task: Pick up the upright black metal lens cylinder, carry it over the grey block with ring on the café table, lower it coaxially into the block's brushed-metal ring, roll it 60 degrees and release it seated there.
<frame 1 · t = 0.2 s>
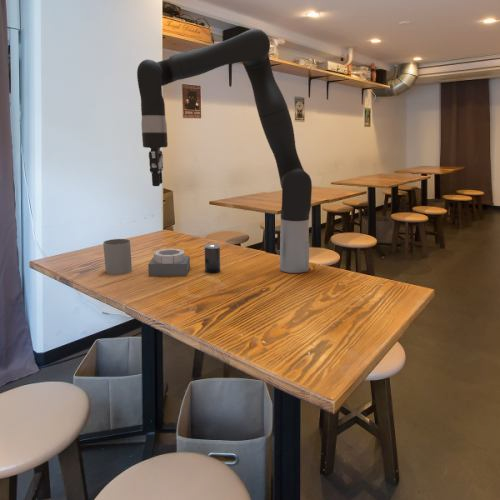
hand: (157, 184, 136), 28 cm above the table, fingers open, 8 cm apart
cup: (119, 271, 143), on the table
lens: (212, 271, 143), on the table
grey block with ring: (170, 271, 142), on the table
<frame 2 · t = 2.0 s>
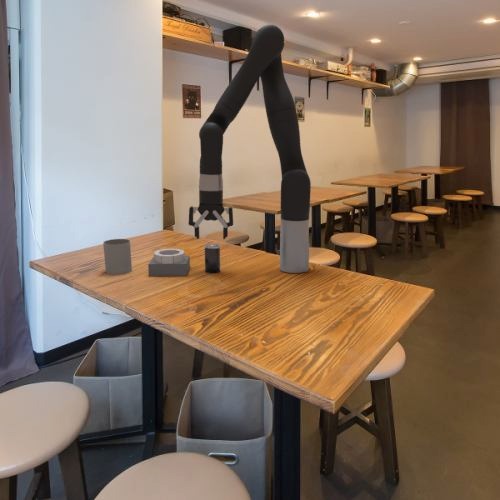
hand: (211, 238, 140), 11 cm above the table, fingers open, 8 cm apart
nothing on the table moved.
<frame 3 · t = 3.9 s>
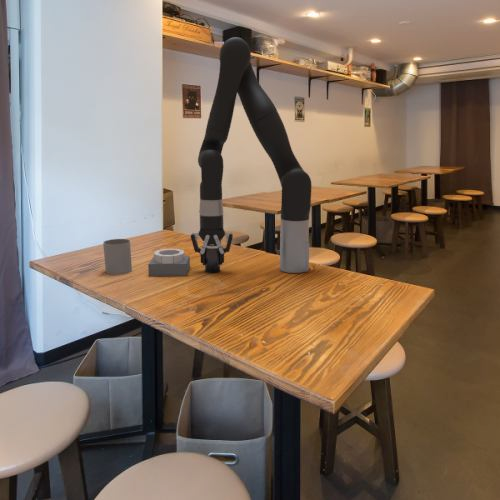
hand: (212, 264, 142), 2 cm above the table, fingers closed on lens, 5 cm apart
lens: (212, 271, 143), on the table, touching gripper
everything else where it was.
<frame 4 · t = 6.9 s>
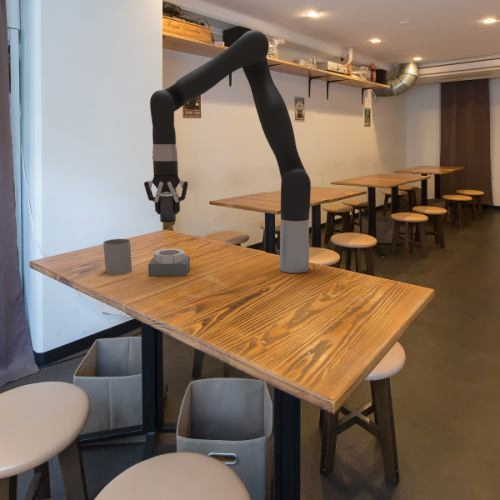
hand: (167, 213, 138), 19 cm above the table, fingers closed on lens, 5 cm apart
lens: (168, 221, 138), point 17 cm above the table, touching gripper
everything else where it was.
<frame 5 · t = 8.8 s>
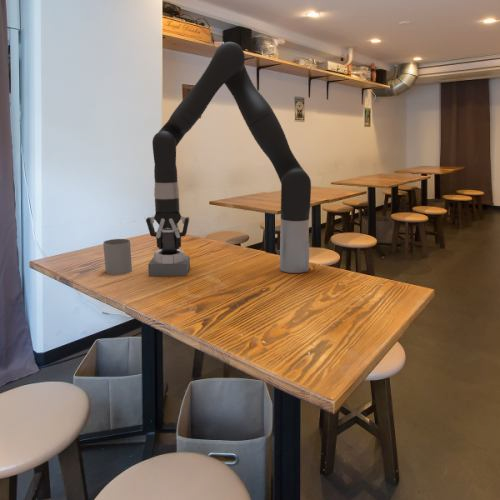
hand: (169, 248, 140), 8 cm above the table, fingers closed on lens, 5 cm apart
lens: (169, 255, 141), point 5 cm above the table, touching gripper
everything else where it was.
when the fingers open (8 cm above the table, at t = 10.4 s): lens stays where it is, resting on grey block with ring.
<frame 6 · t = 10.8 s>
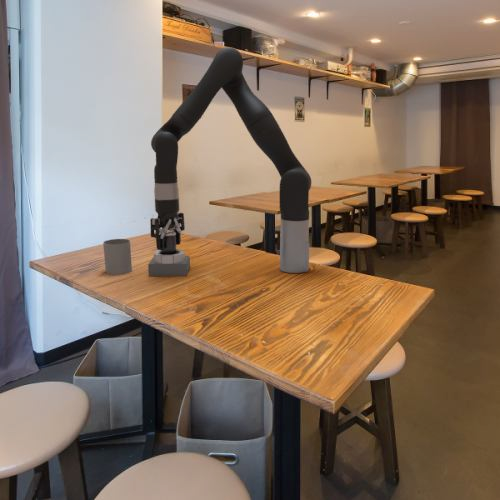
hand: (169, 247, 140), 8 cm above the table, fingers open, 8 cm apart
lens: (168, 259, 142), point 4 cm above the table, touching grey block with ring
everything else where it was.
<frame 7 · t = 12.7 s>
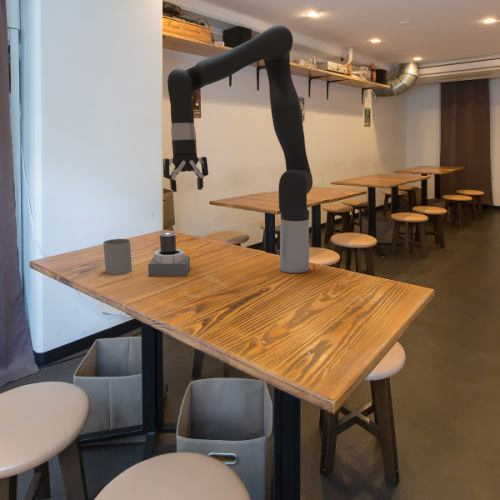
hand: (187, 190, 138), 26 cm above the table, fingers open, 8 cm apart
nothing on the table moved.
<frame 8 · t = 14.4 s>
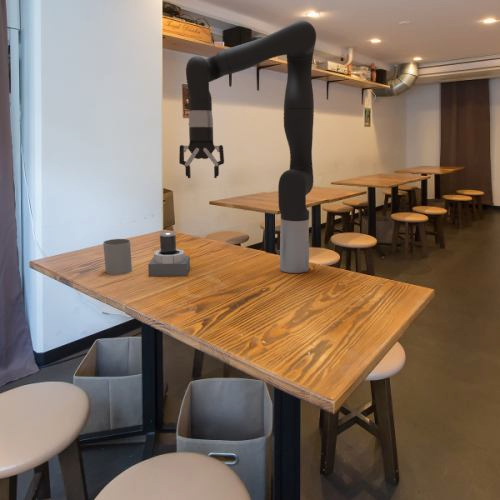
hand: (202, 178, 140), 30 cm above the table, fingers open, 8 cm apart
nothing on the table moved.
at the end: lens 0.4 cm off-centre on the grey block with ring, point 4.0 cm above the grey block with ring's base; lens tilted 0°; the gripper is holding nothing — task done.
